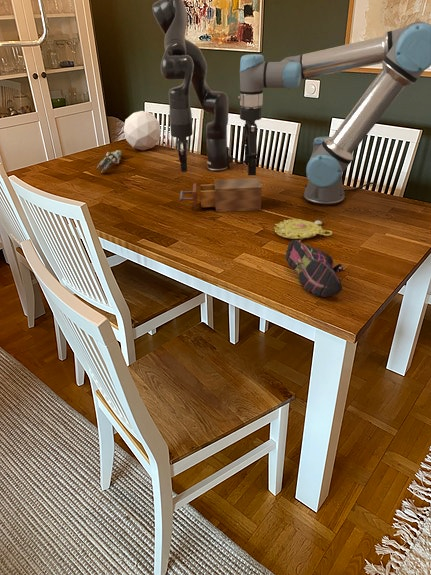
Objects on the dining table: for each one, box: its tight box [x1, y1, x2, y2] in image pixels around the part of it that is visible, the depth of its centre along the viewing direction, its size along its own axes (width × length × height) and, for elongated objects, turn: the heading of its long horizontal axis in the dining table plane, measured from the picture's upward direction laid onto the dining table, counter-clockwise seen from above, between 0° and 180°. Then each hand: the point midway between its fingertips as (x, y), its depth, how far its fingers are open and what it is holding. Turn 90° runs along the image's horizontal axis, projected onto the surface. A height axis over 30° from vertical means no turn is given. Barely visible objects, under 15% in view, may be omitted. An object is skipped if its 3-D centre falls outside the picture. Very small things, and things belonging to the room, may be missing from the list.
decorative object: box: [273, 218, 333, 242], centre depth 145 cm, size 21×2×20 cm
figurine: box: [96, 150, 123, 174], centre depth 213 cm, size 7×8×30 cm
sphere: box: [123, 110, 162, 151], centre depth 233 cm, size 19×20×20 cm
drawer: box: [179, 182, 216, 210], centre depth 165 cm, size 20×9×7 cm, turn 92°
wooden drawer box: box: [214, 177, 263, 213], centre depth 165 cm, size 17×10×9 cm, turn 92°
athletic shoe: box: [285, 239, 346, 298], centre depth 119 cm, size 11×22×12 cm
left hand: (184, 171), depth 160 cm, fingers closed
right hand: (250, 169), depth 160 cm, fingers open, 13 cm apart
